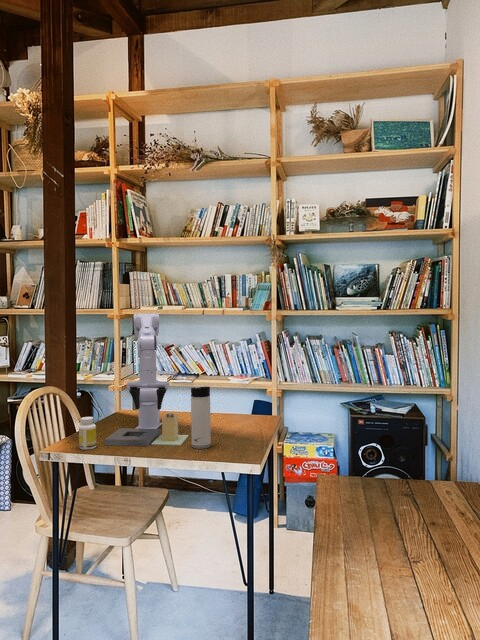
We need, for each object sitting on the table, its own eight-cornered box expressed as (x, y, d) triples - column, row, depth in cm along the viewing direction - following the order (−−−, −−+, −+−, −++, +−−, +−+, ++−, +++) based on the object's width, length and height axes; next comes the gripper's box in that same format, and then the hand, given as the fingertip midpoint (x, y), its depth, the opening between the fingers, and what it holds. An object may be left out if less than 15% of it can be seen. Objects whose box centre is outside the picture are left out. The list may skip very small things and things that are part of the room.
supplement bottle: (99, 445, 170) (98, 416, 170) (92, 450, 165) (92, 419, 164) (83, 445, 171) (82, 416, 170) (76, 449, 165) (75, 419, 165)
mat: (160, 435, 182) (160, 434, 182) (188, 436, 181) (188, 435, 181) (151, 445, 170) (151, 443, 170) (180, 445, 169) (180, 444, 169)
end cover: (165, 437, 178) (165, 412, 177) (178, 437, 177) (177, 413, 177) (162, 440, 173) (162, 415, 173) (175, 441, 173) (174, 415, 172)
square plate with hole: (120, 433, 185) (120, 428, 185) (160, 434, 183) (160, 429, 183) (104, 445, 170) (104, 439, 170) (148, 446, 168) (148, 440, 168)
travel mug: (196, 450, 163) (195, 387, 162) (188, 445, 169) (187, 385, 168) (214, 447, 166) (213, 386, 165) (206, 442, 172) (205, 383, 171)
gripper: (123, 371, 174) (124, 411, 174) (165, 371, 172) (166, 411, 173) (130, 368, 181) (131, 406, 181) (170, 368, 179) (171, 407, 180)
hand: (148, 409), depth 177 cm, fingers open, 7 cm apart
